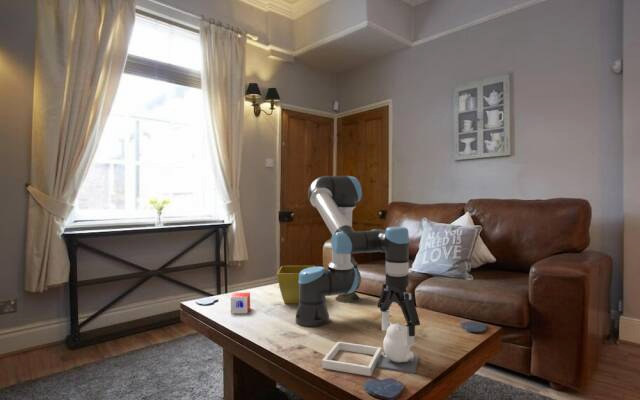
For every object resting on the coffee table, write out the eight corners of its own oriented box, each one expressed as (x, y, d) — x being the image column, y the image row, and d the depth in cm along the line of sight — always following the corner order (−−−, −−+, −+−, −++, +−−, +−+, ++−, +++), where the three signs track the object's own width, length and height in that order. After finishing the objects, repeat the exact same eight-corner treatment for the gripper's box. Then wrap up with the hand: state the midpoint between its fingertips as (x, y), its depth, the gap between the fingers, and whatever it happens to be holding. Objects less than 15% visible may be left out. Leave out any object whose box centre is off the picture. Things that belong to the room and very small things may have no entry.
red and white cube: (250, 308, 182) (250, 292, 182) (247, 313, 174) (247, 296, 174) (234, 308, 181) (233, 292, 181) (230, 313, 174) (230, 297, 173)
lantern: (329, 298, 196) (329, 252, 196) (349, 294, 205) (348, 250, 205) (346, 304, 185) (346, 255, 185) (366, 299, 194) (366, 252, 193)
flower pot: (314, 305, 184) (314, 272, 184) (277, 305, 184) (276, 273, 184) (315, 295, 203) (315, 265, 203) (281, 295, 204) (281, 266, 203)
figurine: (387, 367, 115) (386, 330, 115) (378, 354, 125) (378, 320, 125) (417, 365, 116) (416, 328, 116) (406, 352, 126) (406, 318, 126)
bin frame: (322, 367, 117) (321, 360, 117) (337, 348, 132) (337, 341, 132) (370, 376, 111) (370, 368, 111) (381, 354, 126) (381, 347, 126)
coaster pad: (376, 367, 116) (376, 365, 116) (383, 352, 128) (383, 350, 128) (414, 373, 112) (414, 371, 112) (418, 357, 123) (418, 355, 123)
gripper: (431, 281, 110) (431, 350, 110) (385, 265, 133) (385, 322, 133) (411, 284, 107) (411, 354, 107) (367, 267, 130) (367, 326, 130)
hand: (397, 337), depth 120 cm, fingers open, 13 cm apart
